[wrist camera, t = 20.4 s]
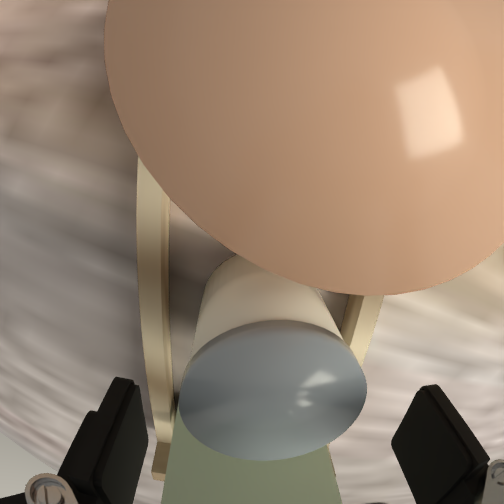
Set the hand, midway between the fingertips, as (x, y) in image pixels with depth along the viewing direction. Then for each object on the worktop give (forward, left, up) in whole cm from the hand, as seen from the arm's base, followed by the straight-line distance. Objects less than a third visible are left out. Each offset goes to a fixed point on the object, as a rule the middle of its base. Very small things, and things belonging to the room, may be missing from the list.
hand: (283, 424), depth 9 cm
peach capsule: (+10, 0, -7) cm, 12 cm away
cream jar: (+1, 0, -7) cm, 7 cm away
